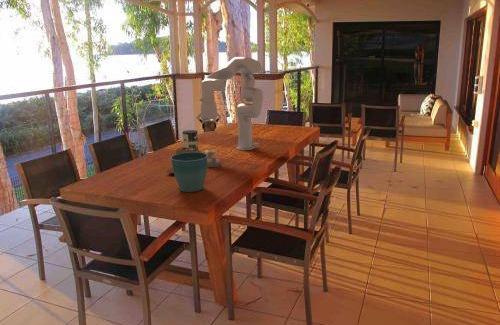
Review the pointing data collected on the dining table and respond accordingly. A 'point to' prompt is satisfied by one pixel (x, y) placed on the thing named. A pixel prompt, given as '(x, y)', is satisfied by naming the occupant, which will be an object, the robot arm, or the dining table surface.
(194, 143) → the coffee can
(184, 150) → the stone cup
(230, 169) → the dining table surface
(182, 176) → the flower pot
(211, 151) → the oak cube
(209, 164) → the slate trivet
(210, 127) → the walnut cube
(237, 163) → the dining table surface
